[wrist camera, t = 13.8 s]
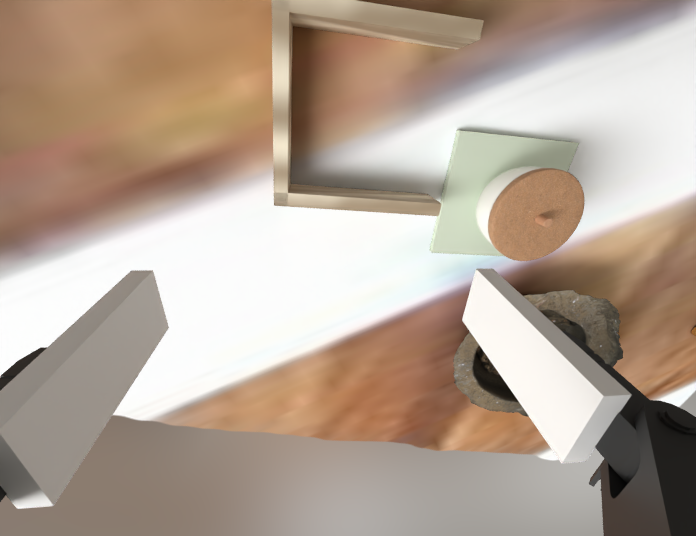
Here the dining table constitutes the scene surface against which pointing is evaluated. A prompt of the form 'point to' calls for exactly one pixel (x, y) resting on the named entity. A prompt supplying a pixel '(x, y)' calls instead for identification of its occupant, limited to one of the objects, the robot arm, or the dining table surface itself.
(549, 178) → the lidded jar
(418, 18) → the cubby
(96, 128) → the dining table surface
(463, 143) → the pad
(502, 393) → the stone bowl
